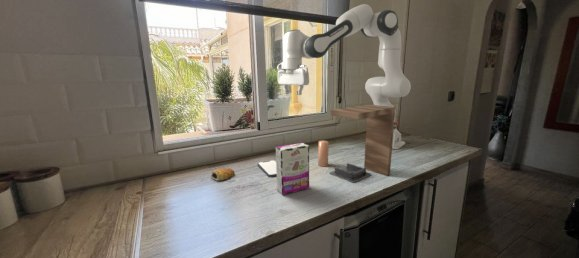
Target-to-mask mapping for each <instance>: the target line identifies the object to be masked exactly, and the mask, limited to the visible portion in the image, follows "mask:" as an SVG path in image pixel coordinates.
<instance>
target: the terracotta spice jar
mask: <svg viewBox="0 0 579 258" xmlns="http://www.w3.org/2000/svg"><path fill="white" fill-rule="evenodd" d="M329 145H330V142H329V141H328V140H318V148H317V149H318V155H317V156H318V157H317V158H318V160H317V164H318V165H317V166H319V167H320V168H326V167H328V166H329V151H330V150H329Z"/></svg>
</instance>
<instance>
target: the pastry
mask: <svg viewBox="0 0 579 258" xmlns="http://www.w3.org/2000/svg"><path fill="white" fill-rule="evenodd" d="M234 175H235V170H234V169H232V168H218V169H214V170H212V171H211V174H210V178H211V179H212V180H214V181H218V182H222V181H224V180H227V179H230V178H231V177H232V178H233V176H234Z"/></svg>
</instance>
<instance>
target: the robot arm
mask: <svg viewBox="0 0 579 258" xmlns="http://www.w3.org/2000/svg"><path fill="white" fill-rule="evenodd" d="M398 27H399V18H398V15H397V13H396V12H395V11H394V10H391V9H385V10H384V9H383V10H382V11H378V12H375V13H374V12H373V9H372V7H371V6H370V5H369V4H365V3H361V4H359V5H357V6H355V7H352V8H350V9H349V10H347V11H345V12H344V13H343V14H341V15H340V16H339V17H338V18H337V19H336V21H335V26H334V27H332V28H330V29H329V30H327V31H326V32H324V33H317V34H313V35H311V36H308V35H307V34H304V33H303V32H302V31H301V30H300V29H291V30H288V31H286V32H285V33H284V35H283V43H282V44H283V45H282V46H283V47H282V48H283V61H282V62H280V63H279V64H278V65H277V67H276V68H277V83H278V85H281V86H282V87H283V90H284V94H285V95H289V94H290V89H289V88H288V87H289V86H297V87H298V90H297V91H296V95H298V96H301V95H302V94H303V93H302V91H303V89H304V86H309V85H310V75H309V69H308V67H307V65H306V64H302V63H303V58H305V59H319V58H322V57H324V56H325V55H326V54H327V53H328V51H329V50H330V48H331V47H332V46H333V45H334V44H337V42H339V41H340V40H342V39H344V38H347V37H350V36H353V35H354V34H356V33H358V32H359V31H360V32H361V34H362V35H363V36H364V37H367V38H375V37H378V39H379V40H378V41H379V46H378V47H379V48H378V60H377V65H378V67H379V68H380V69H381V70H383V71H384V74H385V76H374V77H371V78H368V79H367V80H366V82H365V86H364V88H365V91H366V93H367V94H368V95H369V97H370V98H371V100H372V102H373V104H372V105H378V106H388V107H395V106H394V104H392V103H391V102H390V100H389V98H395V99H396V98H397V99H398V98H403V97H407V96H408V94H409V93H410V91H411V87H412V85H411V81H410V80H409V79H408V78H407V76H405V74H404V73H403V70H402V67H401V57H402V56H401V54H402V33H401V30H400V29H399V28H398ZM396 112H397V111H396V108H395V114H396ZM398 125H399V122H398V121H396V117H395V118H394V131H393V143H392V150H399V149H401V147H403V146H404V145H406V142H405V141H403V140H402V133H401V132H399V129H397V126H398Z"/></svg>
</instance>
